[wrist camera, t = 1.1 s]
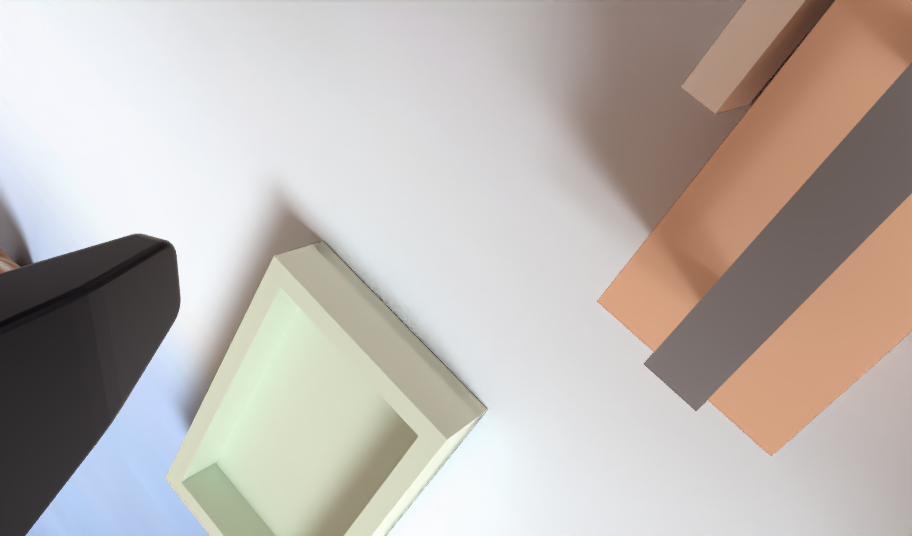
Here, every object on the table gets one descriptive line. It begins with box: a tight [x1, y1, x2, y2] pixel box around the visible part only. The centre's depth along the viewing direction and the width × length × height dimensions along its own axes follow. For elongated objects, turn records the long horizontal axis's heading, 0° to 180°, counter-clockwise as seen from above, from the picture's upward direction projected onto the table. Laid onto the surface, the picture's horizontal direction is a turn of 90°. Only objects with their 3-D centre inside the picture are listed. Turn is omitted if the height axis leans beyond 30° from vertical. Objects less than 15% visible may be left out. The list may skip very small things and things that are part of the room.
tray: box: [165, 241, 487, 536], centre depth 31 cm, size 9×14×2 cm, turn 145°
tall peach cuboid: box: [597, 0, 912, 456], centre depth 16 cm, size 5×10×9 cm, turn 146°
